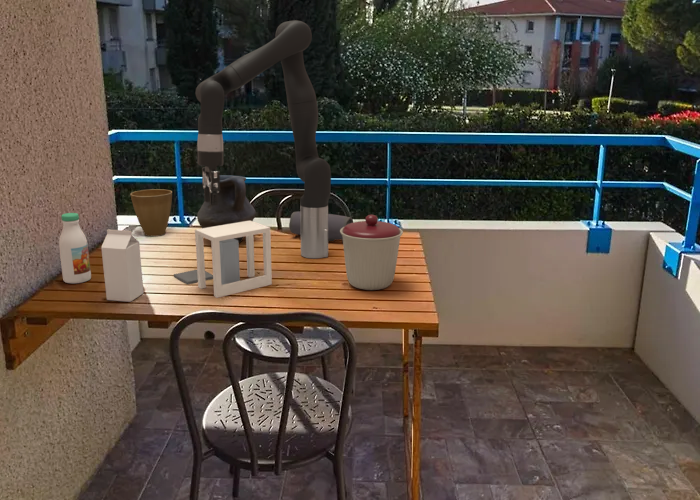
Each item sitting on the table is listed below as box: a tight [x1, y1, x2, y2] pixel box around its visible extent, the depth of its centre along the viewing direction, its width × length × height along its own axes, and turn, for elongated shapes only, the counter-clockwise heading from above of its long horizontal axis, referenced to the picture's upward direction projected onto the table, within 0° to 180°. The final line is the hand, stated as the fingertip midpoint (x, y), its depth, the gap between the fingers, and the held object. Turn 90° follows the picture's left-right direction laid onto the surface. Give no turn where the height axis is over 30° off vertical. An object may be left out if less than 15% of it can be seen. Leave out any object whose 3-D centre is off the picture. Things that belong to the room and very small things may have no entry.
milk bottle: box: [58, 212, 92, 284], centre depth 185 cm, size 8×8×20 cm
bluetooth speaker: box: [288, 211, 354, 242], centre depth 233 cm, size 23×9×10 cm, turn 67°
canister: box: [340, 214, 404, 291], centre depth 183 cm, size 18×18×21 cm
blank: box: [219, 238, 241, 285], centre depth 185 cm, size 5×5×13 cm
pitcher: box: [196, 174, 257, 243], centre depth 227 cm, size 21×22×25 cm
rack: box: [194, 220, 273, 299], centre depth 182 cm, size 11×18×17 cm, turn 130°
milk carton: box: [100, 229, 144, 302], centre depth 172 cm, size 7×7×19 cm
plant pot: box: [130, 188, 173, 237], centre depth 237 cm, size 15×15×16 cm
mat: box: [173, 269, 213, 286], centre depth 191 cm, size 9×9×1 cm
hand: (211, 203), depth 192 cm, fingers open, 8 cm apart
